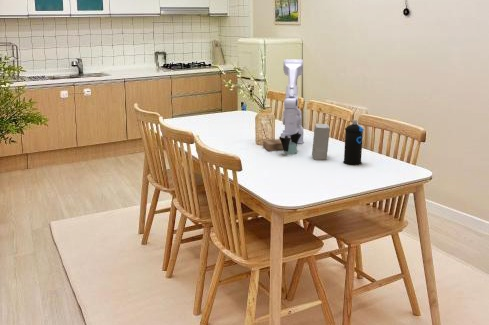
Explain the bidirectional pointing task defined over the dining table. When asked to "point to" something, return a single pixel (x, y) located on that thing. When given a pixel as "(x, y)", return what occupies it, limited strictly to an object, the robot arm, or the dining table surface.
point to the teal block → (291, 148)
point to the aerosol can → (353, 144)
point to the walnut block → (273, 145)
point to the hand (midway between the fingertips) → (290, 149)
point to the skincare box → (320, 141)
